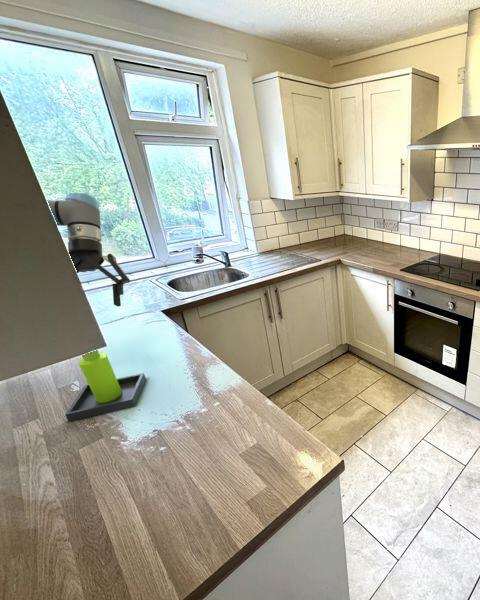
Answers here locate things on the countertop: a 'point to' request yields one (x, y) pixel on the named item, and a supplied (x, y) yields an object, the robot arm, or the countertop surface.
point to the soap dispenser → (100, 376)
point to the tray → (90, 407)
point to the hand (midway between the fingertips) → (88, 308)
